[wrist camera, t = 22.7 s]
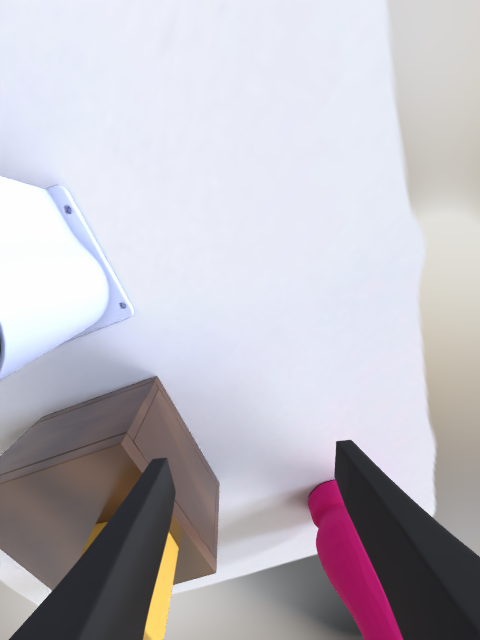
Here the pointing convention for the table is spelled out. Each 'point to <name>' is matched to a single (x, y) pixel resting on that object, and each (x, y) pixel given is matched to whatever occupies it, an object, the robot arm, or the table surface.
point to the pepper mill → (350, 565)
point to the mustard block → (161, 590)
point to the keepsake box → (146, 433)
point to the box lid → (81, 510)
